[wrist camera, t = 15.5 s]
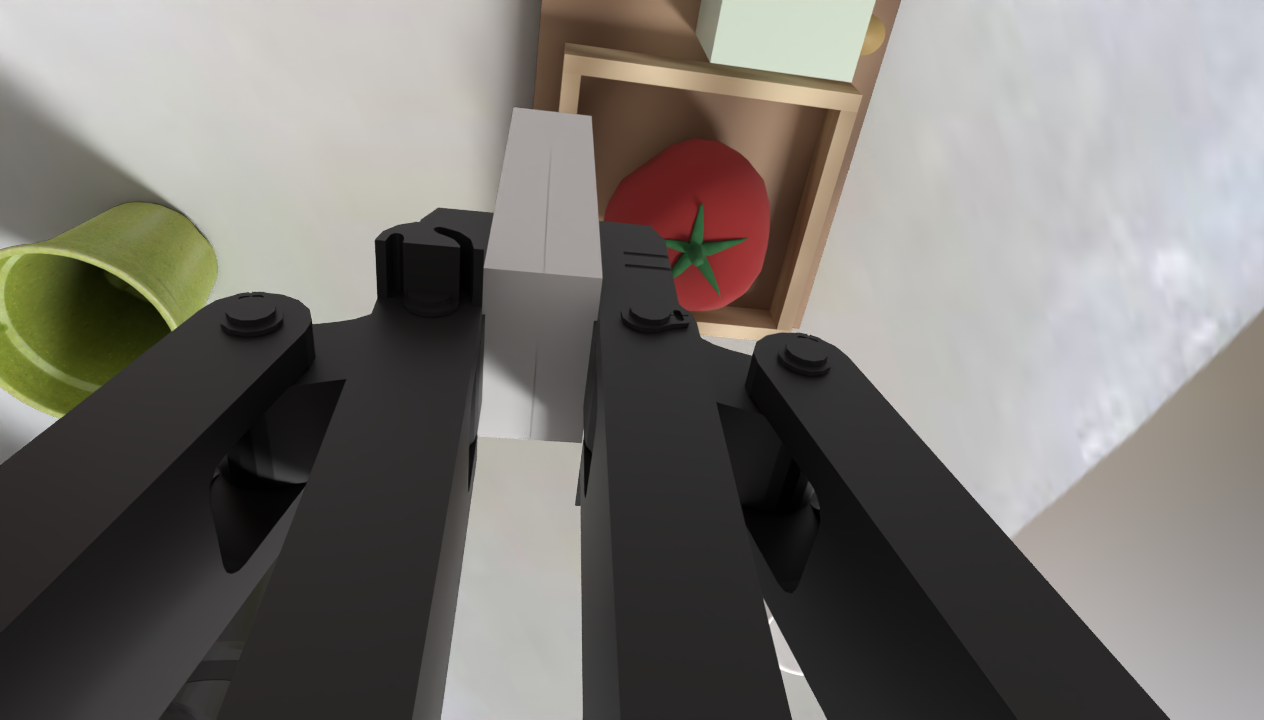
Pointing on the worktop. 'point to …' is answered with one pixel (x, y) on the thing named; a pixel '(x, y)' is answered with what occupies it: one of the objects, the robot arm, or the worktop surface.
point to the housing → (786, 35)
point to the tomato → (700, 218)
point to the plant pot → (96, 301)
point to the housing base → (713, 128)
